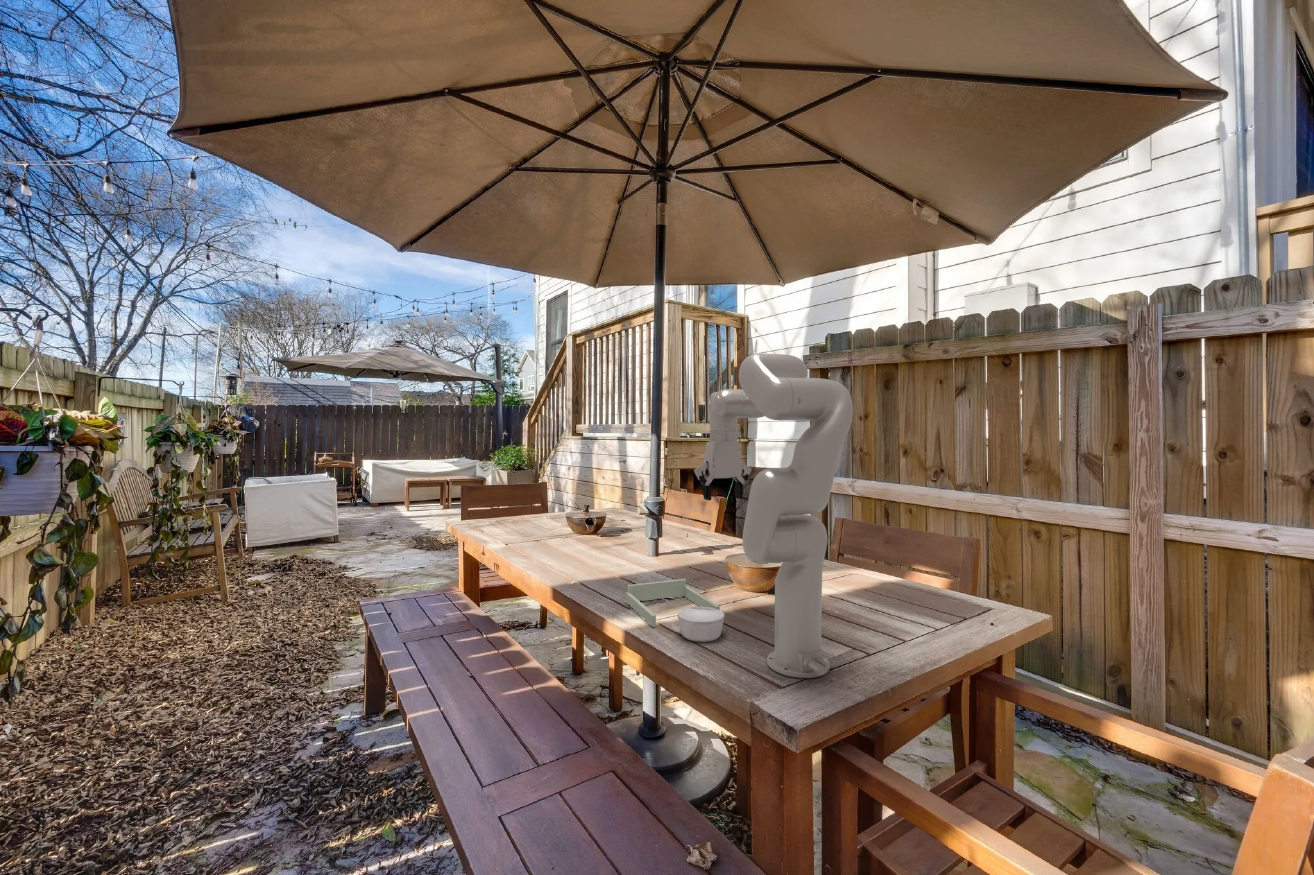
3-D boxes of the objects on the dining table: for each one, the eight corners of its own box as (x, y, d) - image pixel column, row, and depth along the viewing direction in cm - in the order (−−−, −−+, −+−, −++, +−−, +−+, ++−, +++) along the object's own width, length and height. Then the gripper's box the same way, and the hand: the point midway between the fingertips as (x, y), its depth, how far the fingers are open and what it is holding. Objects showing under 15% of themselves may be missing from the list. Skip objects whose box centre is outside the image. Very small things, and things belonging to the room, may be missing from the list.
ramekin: (723, 627, 137) (723, 606, 137) (725, 645, 126) (725, 622, 126) (678, 626, 138) (678, 605, 138) (677, 643, 127) (677, 621, 127)
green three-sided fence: (719, 618, 143) (719, 599, 143) (652, 627, 136) (652, 607, 136) (686, 595, 163) (686, 578, 163) (625, 602, 156) (625, 585, 156)
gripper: (743, 436, 157) (743, 496, 157) (689, 436, 151) (689, 498, 151) (757, 436, 150) (757, 499, 150) (701, 437, 144) (701, 502, 144)
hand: (723, 499), depth 151 cm, fingers open, 9 cm apart
